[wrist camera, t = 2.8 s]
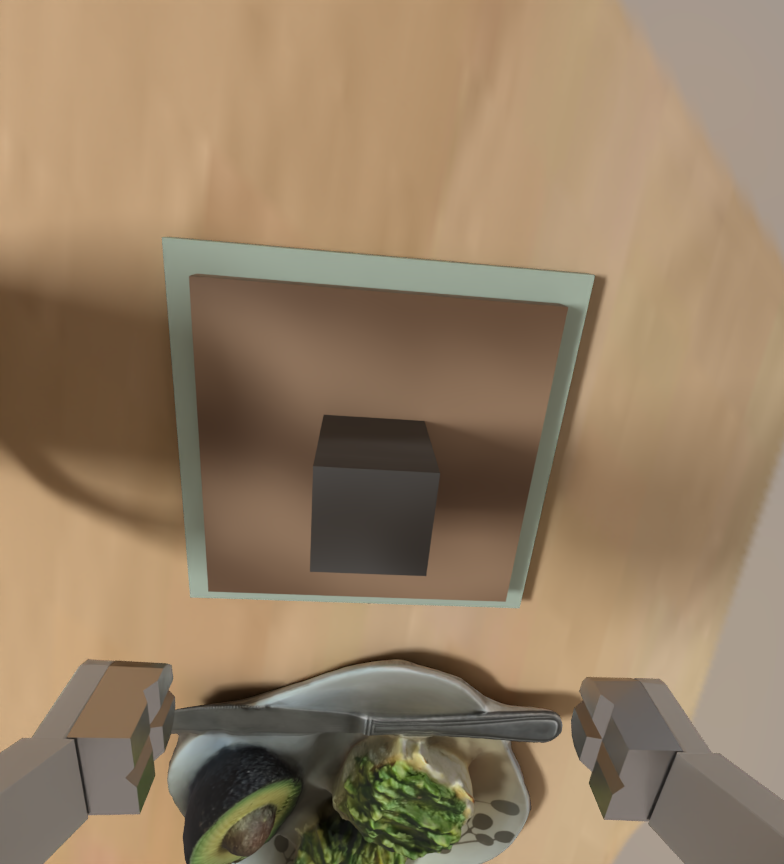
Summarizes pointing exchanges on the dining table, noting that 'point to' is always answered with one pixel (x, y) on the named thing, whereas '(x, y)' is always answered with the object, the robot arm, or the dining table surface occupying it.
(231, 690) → the dining table surface
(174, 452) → the dining table surface
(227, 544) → the walnut lid
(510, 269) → the green mat
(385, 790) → the salad plate
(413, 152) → the dining table surface
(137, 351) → the dining table surface
